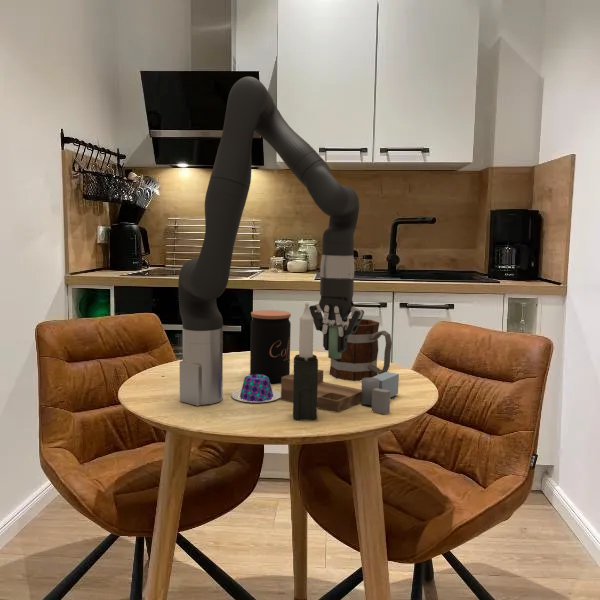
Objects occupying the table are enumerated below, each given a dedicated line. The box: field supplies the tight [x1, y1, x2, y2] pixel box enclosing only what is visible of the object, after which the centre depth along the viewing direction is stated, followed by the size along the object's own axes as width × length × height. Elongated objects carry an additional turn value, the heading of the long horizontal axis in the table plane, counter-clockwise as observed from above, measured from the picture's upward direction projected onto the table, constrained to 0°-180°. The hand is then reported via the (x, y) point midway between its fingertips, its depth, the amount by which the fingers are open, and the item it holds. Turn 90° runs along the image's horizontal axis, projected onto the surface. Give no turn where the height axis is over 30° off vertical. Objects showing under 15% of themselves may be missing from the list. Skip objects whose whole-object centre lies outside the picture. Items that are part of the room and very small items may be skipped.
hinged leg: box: [360, 371, 400, 406], centre depth 142 cm, size 13×4×6 cm, turn 144°
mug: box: [329, 317, 393, 382], centre depth 163 cm, size 20×14×15 cm
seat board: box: [280, 369, 362, 413], centre depth 141 cm, size 12×16×5 cm
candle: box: [292, 302, 319, 421], centre depth 128 cm, size 5×5×25 cm
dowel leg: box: [327, 326, 342, 360], centre depth 135 cm, size 3×3×7 cm
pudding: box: [231, 374, 281, 403], centre depth 143 cm, size 12×12×5 cm
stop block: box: [371, 388, 391, 415], centre depth 133 cm, size 2×4×5 cm, turn 54°
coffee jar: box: [249, 309, 292, 384], centre depth 159 cm, size 11×11×18 cm
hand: (335, 350), depth 135 cm, fingers closed on dowel leg, 3 cm apart
